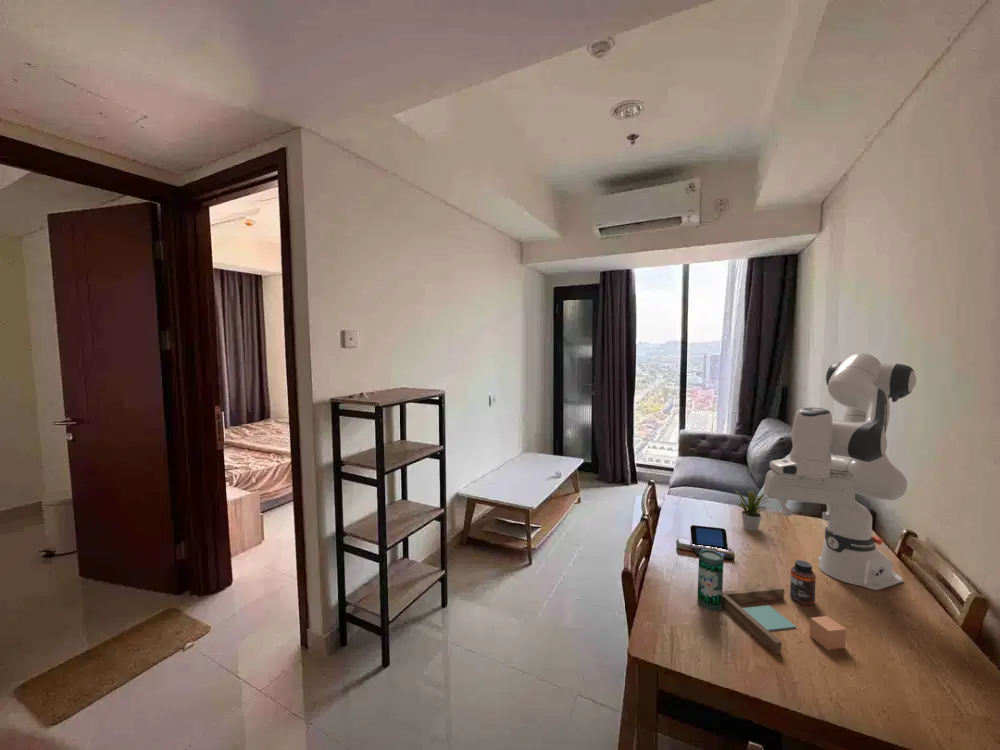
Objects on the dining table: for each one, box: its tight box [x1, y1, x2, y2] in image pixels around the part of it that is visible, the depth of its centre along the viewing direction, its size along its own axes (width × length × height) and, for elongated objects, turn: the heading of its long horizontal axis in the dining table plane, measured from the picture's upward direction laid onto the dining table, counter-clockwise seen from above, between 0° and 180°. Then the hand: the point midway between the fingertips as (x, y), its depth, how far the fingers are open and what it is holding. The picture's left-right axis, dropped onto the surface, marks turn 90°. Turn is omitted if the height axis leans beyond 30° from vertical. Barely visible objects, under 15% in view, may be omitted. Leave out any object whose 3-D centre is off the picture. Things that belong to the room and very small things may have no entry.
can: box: [696, 550, 725, 612], centre depth 116 cm, size 6×6×15 cm
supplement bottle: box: [789, 559, 817, 606], centre depth 119 cm, size 6×6×11 cm
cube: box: [809, 615, 847, 651], centre depth 102 cm, size 5×5×5 cm
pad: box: [742, 604, 797, 632], centre depth 111 cm, size 9×9×1 cm
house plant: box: [735, 490, 771, 532], centre depth 165 cm, size 14×14×16 cm
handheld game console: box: [690, 524, 734, 561], centre depth 147 cm, size 12×11×7 cm
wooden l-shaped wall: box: [722, 585, 785, 655], centre depth 109 cm, size 21×21×3 cm
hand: (806, 517), depth 109 cm, fingers open, 8 cm apart
